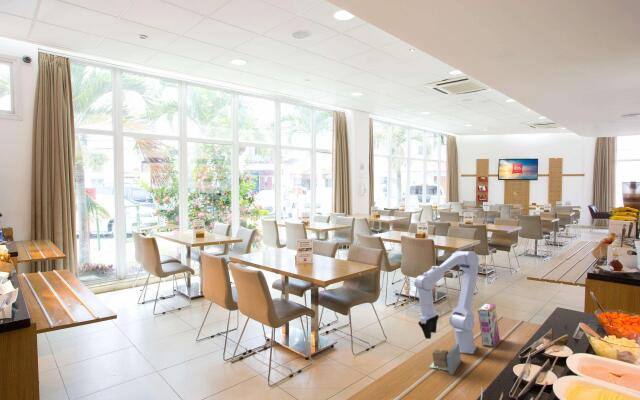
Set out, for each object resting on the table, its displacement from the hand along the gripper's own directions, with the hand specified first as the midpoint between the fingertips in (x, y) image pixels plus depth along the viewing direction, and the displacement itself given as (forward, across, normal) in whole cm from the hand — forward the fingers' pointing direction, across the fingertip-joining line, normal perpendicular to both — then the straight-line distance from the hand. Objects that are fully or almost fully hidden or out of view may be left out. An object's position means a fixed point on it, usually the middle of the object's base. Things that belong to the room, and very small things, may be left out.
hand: (430, 335), depth 161 cm
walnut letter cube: (+10, +5, +5) cm, 12 cm away
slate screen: (+10, +5, +10) cm, 15 cm away
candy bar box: (+11, -26, +19) cm, 34 cm away
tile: (+10, +5, +4) cm, 12 cm away
